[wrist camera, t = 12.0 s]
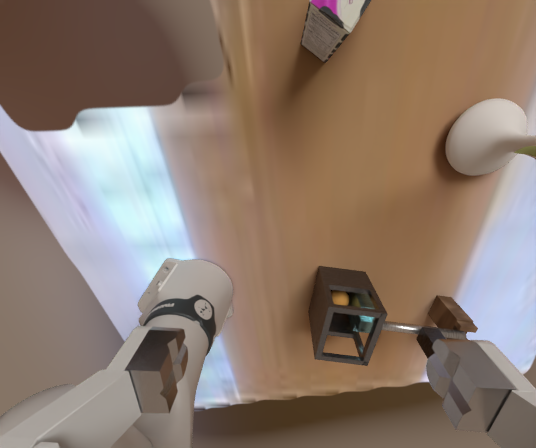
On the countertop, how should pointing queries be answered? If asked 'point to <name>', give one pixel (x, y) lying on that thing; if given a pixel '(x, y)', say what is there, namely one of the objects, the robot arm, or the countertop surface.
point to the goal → (343, 313)
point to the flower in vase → (488, 137)
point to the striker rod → (399, 325)
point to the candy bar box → (330, 24)
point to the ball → (340, 297)
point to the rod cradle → (450, 315)
